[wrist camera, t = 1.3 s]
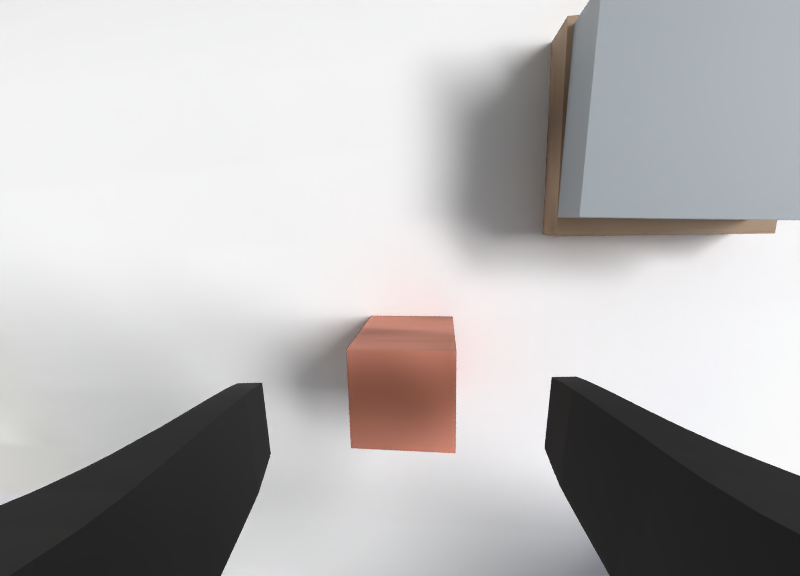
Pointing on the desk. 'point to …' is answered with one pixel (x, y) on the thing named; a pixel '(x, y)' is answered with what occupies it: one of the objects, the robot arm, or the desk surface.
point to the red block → (403, 384)
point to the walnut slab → (554, 167)
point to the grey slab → (683, 111)
